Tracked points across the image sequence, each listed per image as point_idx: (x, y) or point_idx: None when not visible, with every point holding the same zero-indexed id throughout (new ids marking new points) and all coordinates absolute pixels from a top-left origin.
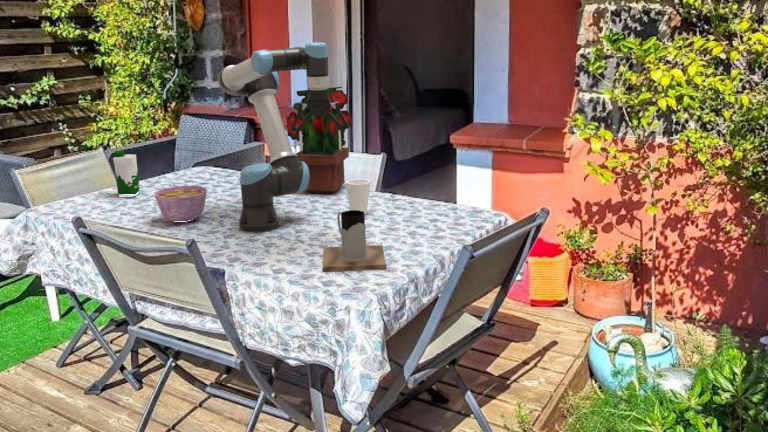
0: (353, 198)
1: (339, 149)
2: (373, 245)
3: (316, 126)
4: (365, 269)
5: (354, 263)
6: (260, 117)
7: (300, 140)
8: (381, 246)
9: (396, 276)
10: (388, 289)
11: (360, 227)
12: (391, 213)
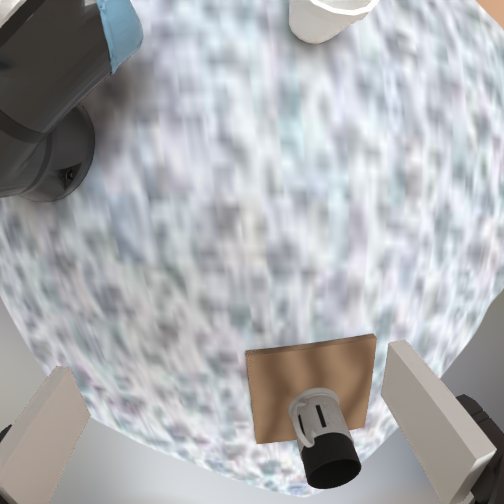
0: (312, 25)
1: (382, 395)
2: (358, 342)
3: None
4: None
5: None
6: None
7: (53, 470)
8: (373, 347)
9: (370, 440)
10: None
11: (342, 464)
12: (396, 42)
